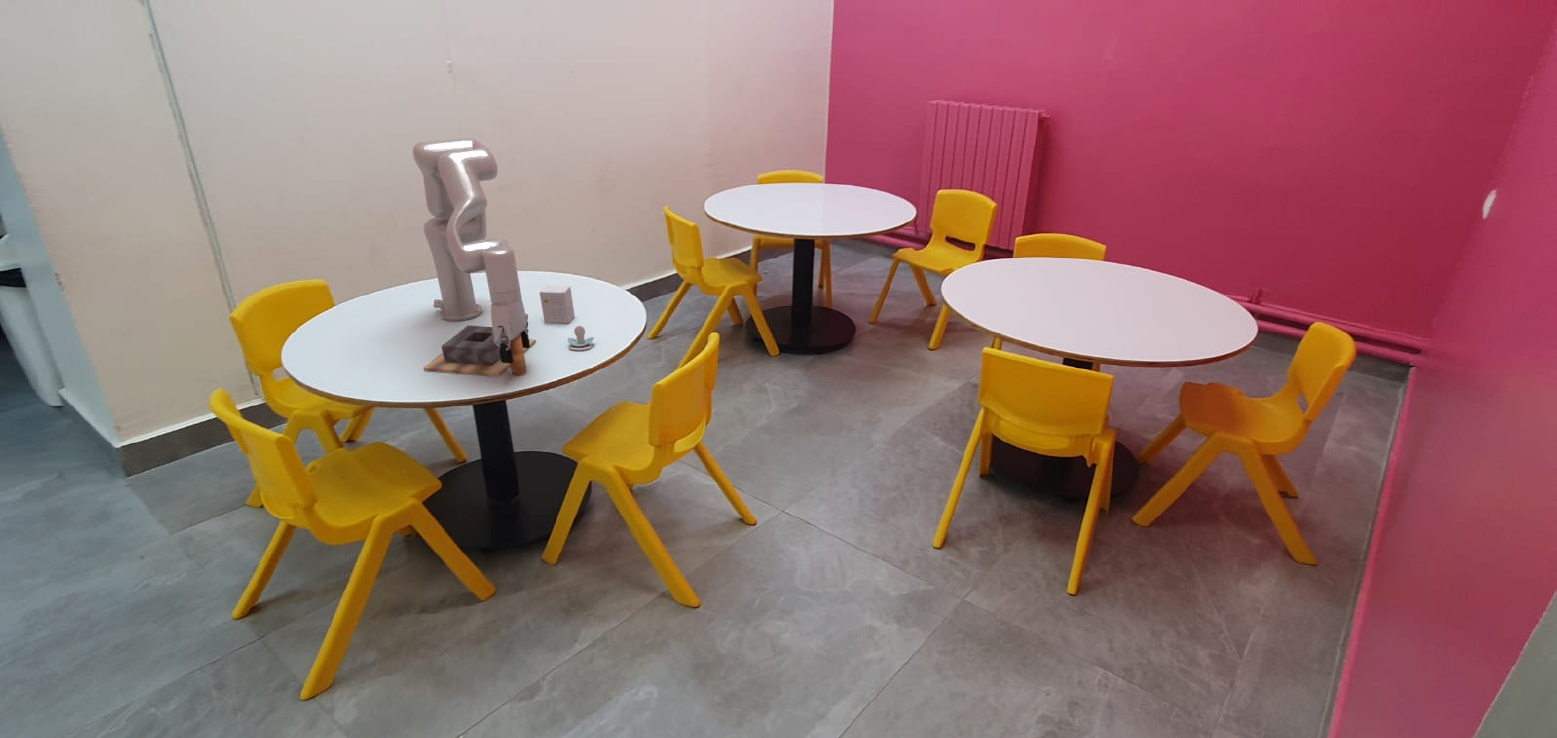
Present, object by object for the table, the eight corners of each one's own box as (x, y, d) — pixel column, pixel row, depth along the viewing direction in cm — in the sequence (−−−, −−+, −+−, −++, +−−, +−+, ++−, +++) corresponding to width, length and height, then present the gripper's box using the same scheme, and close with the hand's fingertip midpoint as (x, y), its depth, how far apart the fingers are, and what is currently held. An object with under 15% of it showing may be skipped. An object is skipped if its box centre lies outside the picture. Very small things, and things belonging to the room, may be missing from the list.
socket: (424, 370, 201) (419, 350, 198) (466, 337, 221) (462, 319, 218) (500, 376, 198) (496, 356, 196) (536, 342, 218) (533, 323, 215)
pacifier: (592, 351, 213) (595, 342, 218) (590, 332, 210) (592, 323, 215) (566, 352, 212) (569, 343, 217) (563, 333, 209) (567, 324, 214)
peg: (508, 375, 199) (501, 334, 193) (515, 368, 202) (508, 328, 197) (522, 376, 198) (515, 335, 193) (529, 369, 202) (522, 329, 196)
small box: (575, 317, 235) (571, 286, 230) (569, 324, 230) (564, 292, 225) (550, 316, 235) (546, 285, 231) (544, 323, 231) (539, 291, 226)
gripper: (507, 282, 198) (517, 340, 206) (474, 306, 183) (486, 368, 191) (534, 283, 197) (543, 342, 205) (503, 308, 182) (514, 370, 190)
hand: (516, 354), depth 198 cm, fingers open, 9 cm apart
